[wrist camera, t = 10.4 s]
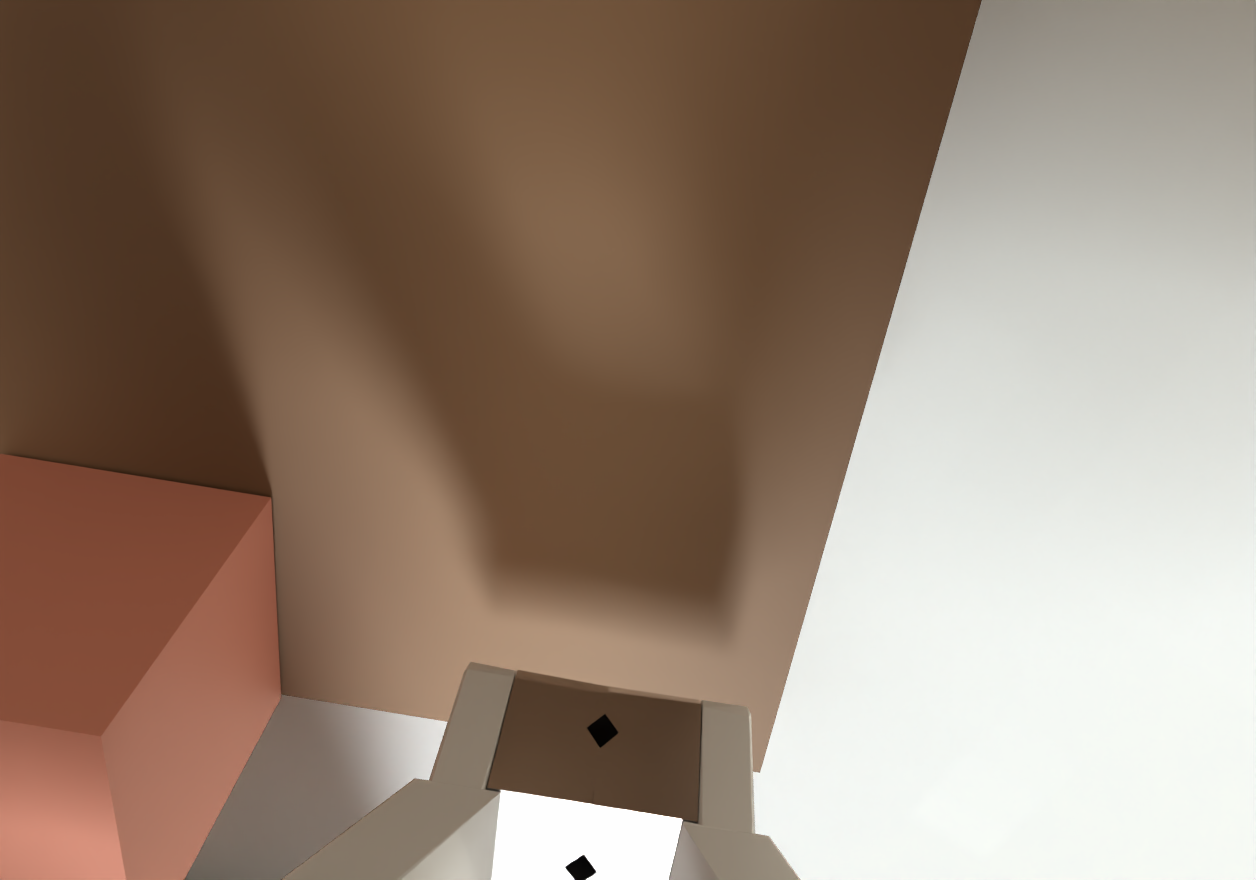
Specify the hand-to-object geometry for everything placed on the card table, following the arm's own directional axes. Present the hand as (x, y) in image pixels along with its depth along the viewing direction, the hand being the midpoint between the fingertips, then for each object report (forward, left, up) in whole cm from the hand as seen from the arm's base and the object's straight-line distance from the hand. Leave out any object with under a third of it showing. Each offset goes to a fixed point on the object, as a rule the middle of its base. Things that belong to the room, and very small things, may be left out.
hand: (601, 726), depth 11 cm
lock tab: (+5, 0, -1) cm, 6 cm away
